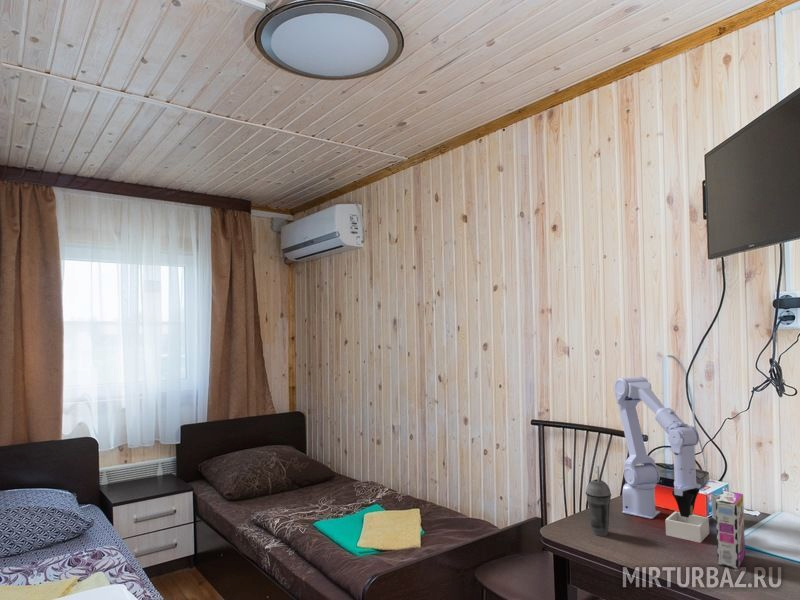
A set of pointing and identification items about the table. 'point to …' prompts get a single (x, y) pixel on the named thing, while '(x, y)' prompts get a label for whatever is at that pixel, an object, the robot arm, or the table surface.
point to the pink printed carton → (730, 529)
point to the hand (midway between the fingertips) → (686, 514)
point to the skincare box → (714, 505)
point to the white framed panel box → (687, 527)
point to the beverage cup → (598, 505)
